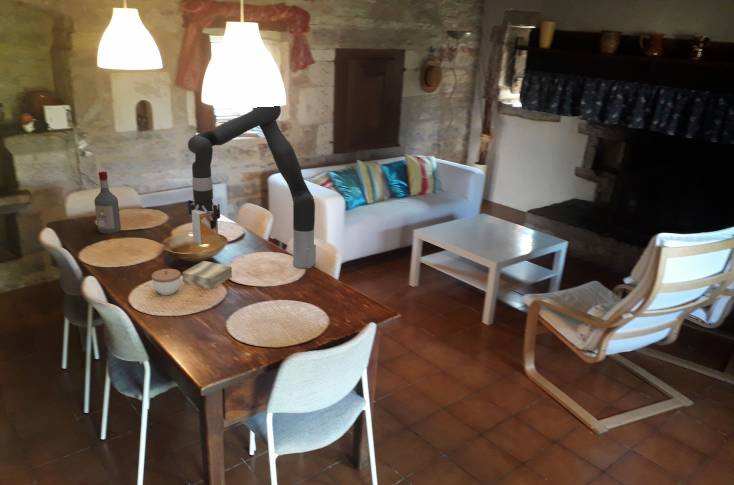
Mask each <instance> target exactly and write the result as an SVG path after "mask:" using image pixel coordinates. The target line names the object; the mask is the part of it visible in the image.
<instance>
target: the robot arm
mask: <svg viewBox="0 0 734 485" xmlns="http://www.w3.org/2000/svg"><path fill="white" fill-rule="evenodd" d="M281 112H282V109H281V105H280V106H274V107H257V108H253V107H252V110H251V111H249V112H247V113H245V114H242V115H241V116H237V117H235V118H232V119H229V120H227V121H225V122H222V123H221V124H220V125H219V124H218V125H217V126H215V127H214V128H212V129H209V130H206V131H202V132H199V133H197V134H194V135H193V136H191V137H190V138H189V139H188V142H187V148H188V150H189V151H190V152H191V153H192V154H194V156H195V159H194V161H193V162H192V165H191V170H192V171H191V172H192V196H193V197H192V198H191V199H189V200H187V205H188V206H187V207H188V209H187V210H188V214H189V215H191V216H192V210H196V211H198V210H200V211H204V212H206V213H207V216H209V218H210V219H211V220H210V224H211V229H214V228H216V219H217V220H218V219H221V209H220V208H221V206H220V203H217V204H214V203H213V199H214V190H213V180H212V166H211V164H212V160H213V154H214V150H213V147H214V146H222V145H224V144H226V143H228V142H230V141H233V140H234V139H236V138H237V137H239V136H241V135H243V134H245V133H246V132H248V131H250V130H252V129H254V128H256V127H259V128H260V130H261V132H262V134H263V136H264V138H265V140H266V142H267V146H268V149H269V150H270V153H271V156H272V158H273V160H274V164H275V165H276V168H277V169H278V171H279V173H280V175H281V177H282V178H283V179H284V181H285V182H286V184H287V186H288V189H289V192H290V194H291V199H292V209H293V210H292V211H293V212H292V215H293V216H292V217H293V220H292V222H293V223H292V232H293V234H292V238H293V239H292V240H293V242H292V244H293V246H292V247H293V250H292V262H293V263H292V264H293V266H294V267H295V268H298V269H311V268H312V267H314V265H316V259H317V258H316V255H317V254H316V253H317V252H316V251H317V249H316V248H317V245H316V244H315V224H316V223H315V221H316V219H315V218H316V202H315V199H314V196H313V194H312V193H311V191H310V189H309V188H308V186H307V183H306V182H305V179H304V176H303V173H302V169H301V166H300V162H299V160H298V157H297V155H296V151H295V150H294V148H293V146H292V144H291V143H290V141H289V140H288V139H287V138H286V136H285V135H284V134H283V132H282V131H281V129H280V127H279V125H278V123H277V119H279V117H280V116H281ZM209 211H214V212H211V213H209ZM211 214H213V217H212V215H211Z"/></svg>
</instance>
